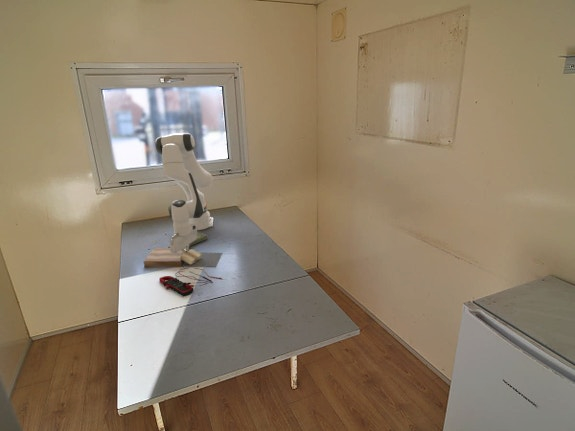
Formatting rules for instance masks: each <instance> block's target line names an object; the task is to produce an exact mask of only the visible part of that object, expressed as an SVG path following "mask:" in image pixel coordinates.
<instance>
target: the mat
mask: <svg viewBox="0 0 575 431" xmlns="http://www.w3.org/2000/svg"><path fill="white" fill-rule="evenodd" d="M200 253H201V254H202V256H201V258H200V259H199V260H197V261H196V262H194V263H193V264H191V265H190V264H188V263H187V262H184V264H183V265H182V267H181V268H216V267H217V265H218V262H219V261H220V258H221V256H222V252H200Z"/></svg>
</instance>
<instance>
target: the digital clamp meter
mask: <svg viewBox="0 0 575 431" xmlns="http://www.w3.org/2000/svg"><path fill="white" fill-rule="evenodd" d="M187 269H188V267H183V268H181V269H179V271H177V272H176V273H174V276H176V277H174V276H172V275H164V276H161V277H159V278H158V281H159V283H160V284H162V285H163V287H165V288H166V290H169V289H170V290H171V291H173V292H174V293H176V294H178V295H180V296H182V297H183V298H184V297H185V298H186V297H188V296H190V295H192V294H193V293H194V287H195V285H194V284H193V282H183V281H181V280H180V279H178V277H179V278H182V277H183V278H184V277H185V278H188V279H190V280H194V281H195V280H196V281H197V282H195V284H199V283H201V284H200V285H199V287H201V286H204V285H207V284H214V281H212V280H211V279H218V280H226V279H224V278H222V277H218V276H217V277H216V276H211V275H208V274H207V272H206V271H204V269H203V268H200V267H194V269H195V270H196V269H197V270H202V272H204V273H205V274H206V276H207V277H205V276H202V275H200V274H197V273H194V272H193V271H190V273H192V274H194V275H197V276H199V277H202V278H203V279H205V280H203V279H198V278H196V277H195V276H192V275H191V276H190V275H184V274H182V272H184V270H187ZM178 274H179V275H178ZM180 275H181V276H180ZM208 277H209V278H210V279H209V278H208ZM165 280H166V281H165Z"/></svg>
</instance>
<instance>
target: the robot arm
mask: <svg viewBox="0 0 575 431" xmlns="http://www.w3.org/2000/svg"><path fill="white" fill-rule="evenodd" d="M194 138H195V137H194V136H193V134H191V133H189V132H183V133H181V132H180V133H172V134H168V135H164V136H163V135H162V136H158V137H157V138H156V139H155V142H154V144H155V149H156V152H157V153H158V154H159V155H161V162H162V169H163V172H164V175H165V176H166V178H168V179H169V180H172V181H175V184H176V185H178V186H179V187H180V188H181V189H182V191H183V192H184V193H185V196H186V200H183V199H176V200H174V201H172V202H171V204H170V205H169V207H168V213H169V218H170V219H171V221H173V224H172V227H173V232H174V234H173V235H172V236H171V238H170V240H169V247H170V251H171V252H172V253H177V252H179V251H180V250H182V252H183V254H184V253H185V252H187V251H188V248H189V249H190V246H189V244H190V243H192V242H193V241H194V240H196V239H197V234H198V231H200V230H205V229H208V228H212V227H213V226H214V217H211V213H210V211H208V208H207V207H208V206H207V203H206V200H205V195H204V193H203V192H202V191H200V190H199V189H206V188H210V187H211V186H212V185H213V182H214V178H213V175H212V174H211V173H210V172H208V171H207V170H206V169H205V168H203V167H202V166H201V164H200V163H199V162H198V160H197V158H196V156H195V152H194V149H195V148H196V147H195V146H196V142H195V141H196V140H195V139H194Z"/></svg>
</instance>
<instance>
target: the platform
mask: <svg viewBox="0 0 575 431" xmlns="http://www.w3.org/2000/svg"><path fill="white" fill-rule="evenodd" d="M189 250H190V247H189V248H188V251H189ZM182 254H183V252H182V250H180V251H179V252H177V253H172V252H171V251H170V248H168V247H154V248H153V249H152V251H151V252H150V253H149V254H148V256H147V257H146V258H145V259H144V260H143V265H144V268H183V267H182V266H183V264H184V263H185V261H183V260H181V259H180V257H181V255H182Z"/></svg>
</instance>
